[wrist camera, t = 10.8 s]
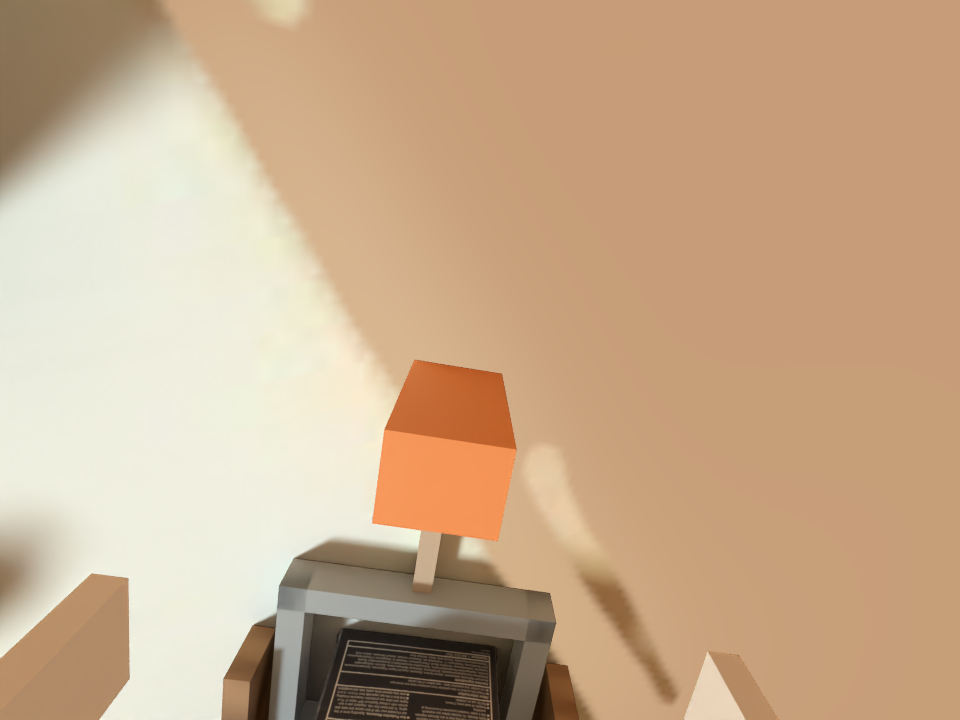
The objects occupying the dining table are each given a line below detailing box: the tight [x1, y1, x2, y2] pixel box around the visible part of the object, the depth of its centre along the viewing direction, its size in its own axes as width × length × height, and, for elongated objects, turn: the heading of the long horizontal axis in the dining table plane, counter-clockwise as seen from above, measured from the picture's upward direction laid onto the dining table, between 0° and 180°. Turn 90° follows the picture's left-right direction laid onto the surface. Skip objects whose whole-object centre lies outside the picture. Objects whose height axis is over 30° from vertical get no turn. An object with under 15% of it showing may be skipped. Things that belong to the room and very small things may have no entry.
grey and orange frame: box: [268, 360, 556, 720], centre depth 27 cm, size 27×16×10 cm, turn 170°
